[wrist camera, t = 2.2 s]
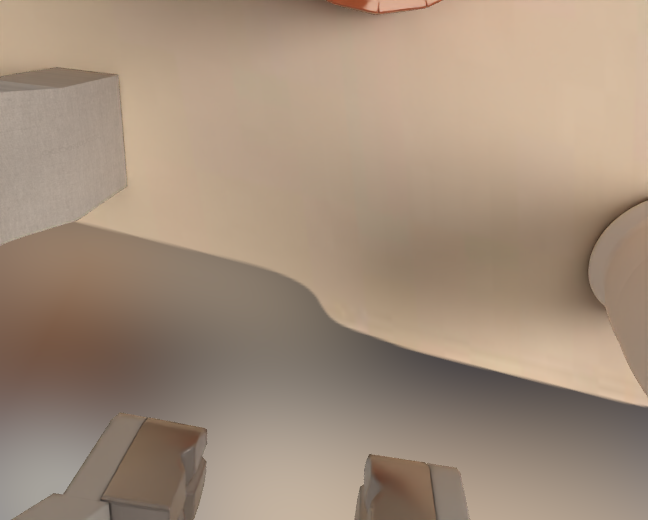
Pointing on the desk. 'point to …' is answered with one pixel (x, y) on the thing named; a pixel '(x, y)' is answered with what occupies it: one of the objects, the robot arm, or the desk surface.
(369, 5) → the cup
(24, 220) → the tea bag
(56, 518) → the robot arm
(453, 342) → the desk surface
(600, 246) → the jar
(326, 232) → the desk surface
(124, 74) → the desk surface
